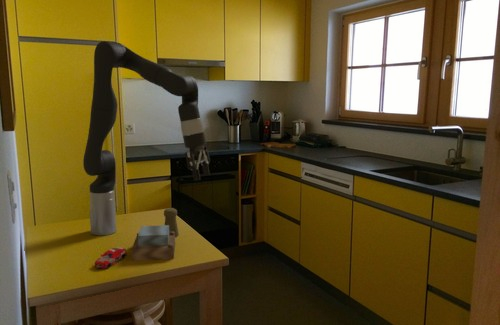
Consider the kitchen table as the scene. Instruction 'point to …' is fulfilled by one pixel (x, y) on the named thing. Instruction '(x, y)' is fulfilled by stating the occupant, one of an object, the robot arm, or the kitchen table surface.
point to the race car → (110, 258)
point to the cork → (171, 220)
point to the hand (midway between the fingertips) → (202, 177)
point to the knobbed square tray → (154, 243)
